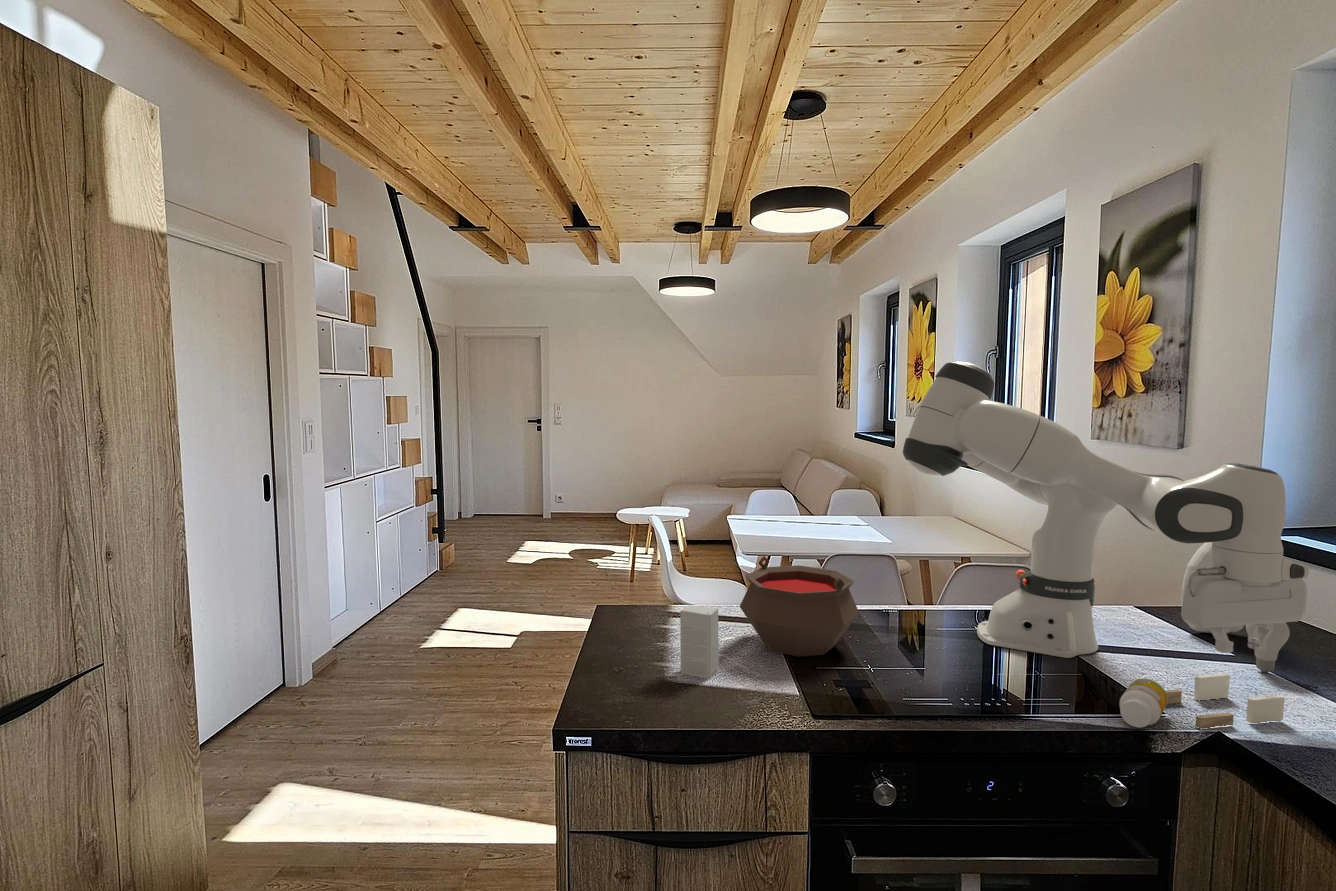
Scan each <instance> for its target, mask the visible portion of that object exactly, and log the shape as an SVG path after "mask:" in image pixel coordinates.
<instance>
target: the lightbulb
mask: <svg viewBox="0 0 1336 891" xmlns="http://www.w3.org/2000/svg"><path fill="white" fill-rule="evenodd" d="M1255 628H1256V626H1255V625H1245V630H1246V633H1247V635H1248V636H1247V637H1250V636H1252V635H1253V633H1254V630H1255ZM1290 633H1291V632H1290V628H1289V625H1288V623H1287V622H1281V623H1274V629H1273V631H1272V632H1271V634H1270V636H1269V637H1268V639H1267V640H1266V648H1265V649H1264V650H1254V656H1255V667H1256V668H1257V669H1258V670H1260V671H1261V672H1262V673H1266V674H1268V673H1270V672H1273V671H1274V670H1275V665H1276V661H1277V660H1278V655H1279V651H1281V649H1282V647H1283V646H1284V645H1285V644H1286V643H1287V641H1288V640H1289V638H1290Z"/></svg>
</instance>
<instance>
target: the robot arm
mask: <svg viewBox="0 0 1336 891" xmlns="http://www.w3.org/2000/svg"><path fill="white" fill-rule="evenodd" d="M934 376H935V380H933V382H932V384H931V385H930V387H929V388H928V390H927V392H926V394H925V395H924V397H923V399H922V400H921V403H920V405H919V409H918V410H917V413H916V416H915V417H914V420H913V422H912V425H911V428H910V430H909V434H908V437H905V440H904V444H903V448H902V454H903V457H904V459H905V460H906V461H908V463H909V464H910V465H911V466H912V468H914V469H916V470H917V471H919V472H921V473H923V474H926V475H930V476H942V477H944V476H948V475H950V474H953V473H955V472H956V471H957V470H958V469H959V468H961V467H967V466H968V467H970V468H972V469H974V470H975V471H979V472H980V473H982V474H985V475H987V476H988V477H991V478H993V479H995V480H997V481H999V482H1001V483H1003V484H1004V485H1005V486H1007V487H1009V488H1011V489H1012V490H1014V491H1015V492H1017V493H1018V494H1020V495H1022V496H1024V497H1025V498H1028V499H1029V500H1031V501H1033V502H1034V503H1038V504H1041V505H1046V506H1048V507H1047V508H1048V509H1047V513H1046V516H1045V519H1044V521H1043V523H1042V525H1041V527H1040V528H1039V529H1038V530H1036V531H1035V532H1034V533H1033V535H1032V537H1031V538H1032V540H1031V542H1032V543H1031V544H1032V545H1031V559H1030V560H1031V564H1030V570H1029V571H1027V572H1025V570H1024V569H1018V570H1017V571H1015V576H1016V579H1017V580H1019V588H1018V589H1016V590H1014V591H1013V592H1011V593H1009V594H1007V595H1006V596H1003V597H1002V598H999V599H998V600H997V601H995V602H994V604H992V606H991V608H990V611H989V612H990V613H989V615H988V620H983V621H981V622H979V623H978V625H977V628H976V634H977V637H978V638H979V639H980V640H981V641H982V642H983V643H985V644H987V645H989V646H990V645H991V646H995V647H1001V648H1006V649H1007V648H1008V649H1014V650H1019V651H1024V652H1029V653H1030V652H1031V653H1036V654H1040V655H1041V654H1042V655H1048V656H1053V657H1060V658H1066V659H1070V658H1074V657H1076V656H1078V655H1079V656H1080V655H1086V654H1087V655H1088V654H1093V653H1095V652H1097V651H1098V650H1099V644H1098V641H1097V638H1096V634H1095V627H1094V620H1093V618H1094V616H1093V606H1094V602H1095V596H1096V595H1095V593H1096V592H1095V591H1096V584H1095V579H1094V578H1093V566H1094V555H1095V554H1094V552H1095V544H1096V539H1097V537H1098V536H1097V535H1098V533H1099V529H1100V527H1101V525H1102V523H1103V521H1104V519H1105V518H1106V516H1107V514H1108V513H1110V512H1111V511H1113V510H1114V509H1115V508H1117V506H1118V505H1120V506H1121V507H1123V508H1125V509H1126V511H1127V512H1128V513H1129V514H1131V516H1132V517H1133V519H1135V520H1136V521H1137V522H1138V523H1139V524H1140V525H1142V526H1143V527H1145V528H1147V529H1149V530H1152V531H1155V532H1157V533H1158V534H1160V535H1162V536H1163V537H1165V538H1166V539H1169V540H1171V541H1174V542H1176V543H1179V544H1180V543H1181V544H1187V545H1189V544H1204V543H1206V542H1212V551H1211V568H1199V569H1197V570H1196V572H1194V573H1193V574H1192V575H1191V576H1190V577H1189V581H1188V583H1187V585H1186V588H1185V593H1184V597H1183V603H1182V604H1181V611H1180V612H1181V614H1180V615H1181V618H1182V620H1183V621H1184V622H1185V623H1186V624H1187V625H1188V624H1191V625H1193V626H1197V627H1200V628H1210V630H1211V632H1212V633H1211V634H1212V636H1213V638H1214V640H1215V650H1216V651H1217V652H1219V653H1223V654H1227V653H1233V652H1234V641H1232V640H1229V637H1228V634H1229V633H1228V632H1229V630H1230V626H1241V625H1244V626H1246V625H1255V626H1256V628H1255V630H1254V633H1253V635H1252V636H1250V637H1249V636H1247V641H1248V642H1247V647H1248V648H1249V649H1252V650H1254V651H1255V650H1264V649H1265V648H1266V640H1267V639H1268V637H1269V636H1270V634H1271V632H1272V631H1273V629H1274V623H1281V622H1285V623H1292V622H1293V623H1294V622H1299V621H1301V620H1302V618H1303V617H1304V615H1305V613H1306V607H1307V598H1308V597H1307V594H1308V593H1307V592H1308V591H1307V588H1308V587H1307V584H1306V581H1305V579H1307V578H1308V577H1309V572H1310V571H1309V570H1310V569H1309V566H1307V564H1306V565H1305V564H1303V563H1300V562H1298V561H1293V560H1290V559H1288V558H1285V557H1284V546H1283V543H1282V542H1283V541H1282V533H1283V529H1284V528H1285V525H1286V516H1287V514H1286V511H1287V509H1286V508H1287V507H1286V506H1287V499H1286V489H1285V484H1284V483H1285V482H1284V480H1283V478H1282V476H1281V475H1280V474H1278V473H1277V472H1276V471H1274V470H1272V469H1269V468H1264V467H1258V466H1254V465H1248V464H1244V463H1243V464H1242V463H1237V462H1228V463H1224V464H1222V465H1221V466H1220V467H1218V468H1217V469H1215V470H1212V471H1210V472H1208V473H1205V474H1204V475H1203V474H1202V475H1201V476H1198V477H1195V478H1191V479H1187V480H1184V479H1182V478H1180V477H1177V476H1175V475H1169V474H1150V473H1149V474H1145V473H1140V472H1137V471H1135V470H1132V469H1130V468H1126V467H1124V466H1122V465H1119V464H1117V463H1115V462H1113V461H1110V460H1109V459H1106V458H1103V457H1100V456H1099V455H1097V454H1095V453H1093V452H1092V451H1091V450H1089V449H1088V448H1087V447H1086V446H1085V445H1084V444H1083V443H1082V441H1081V439H1080V438H1079V436H1078V435H1077V434H1075V433H1073V432H1072V431H1071V430H1069V429H1068V428H1066V427H1064V426H1063V425H1060V424H1059V423H1057V422H1055V421H1053V420H1051V419H1049V418H1046V417H1045V416H1042V415H1040V414H1037V413H1034V412H1032V411H1029V410H1026V409H1023V408H1021V407H1018V406H1014V405H1010V404H1007V403H1003V402H999V401H994V400H991V399H992V397H993V394H994V388H995V381H994V379H993V377H992V375H991V374H990V373H989V372H988V371H986V370H985V369H984V368H983V367H981V366H980V365H977V364H974V363H973V362H968V361H958V360H953V361H949V362H946V363H945V364H943V366H941V368H940V369H939V371H938V372H937V373H936V375H934ZM1196 574H1198V575H1196ZM1226 632H1227V633H1226Z"/></svg>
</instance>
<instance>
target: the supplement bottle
mask: <svg viewBox="0 0 1336 891" xmlns="http://www.w3.org/2000/svg"><path fill="white" fill-rule="evenodd" d="M1167 702H1168V696H1167V693H1166V691H1165V689H1164V687H1163V686H1162V685H1161V684H1160V683H1159V682H1157V681H1155V680H1153V679H1150V678H1144V677H1143V678H1137V679H1135V680H1133V681H1132V682H1131V683H1130V684H1129V686H1128V687H1127V688H1126V690H1125V691H1124V693H1123V694H1122V695H1121V696H1120V698H1119V709H1120V715H1121V717H1122V719H1123V720H1124V722H1125V723H1127V724H1128V725H1130V726H1132V727H1135V728H1145V727H1148V726H1147V725H1149V726H1152V725H1154V724H1156V723H1157V722H1158V721H1159V719H1160V718H1161V716H1162V714H1163V712H1164V711H1165V709H1166V707H1167V705H1168V704H1167Z"/></svg>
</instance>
